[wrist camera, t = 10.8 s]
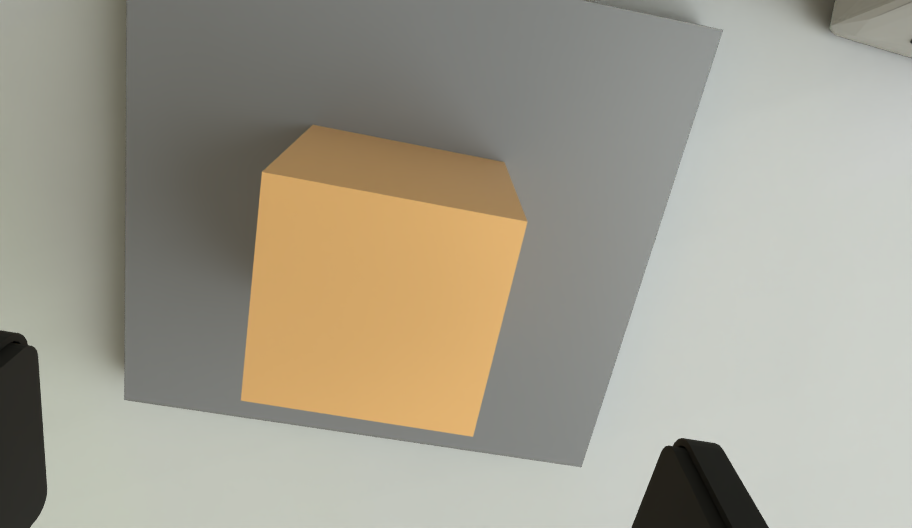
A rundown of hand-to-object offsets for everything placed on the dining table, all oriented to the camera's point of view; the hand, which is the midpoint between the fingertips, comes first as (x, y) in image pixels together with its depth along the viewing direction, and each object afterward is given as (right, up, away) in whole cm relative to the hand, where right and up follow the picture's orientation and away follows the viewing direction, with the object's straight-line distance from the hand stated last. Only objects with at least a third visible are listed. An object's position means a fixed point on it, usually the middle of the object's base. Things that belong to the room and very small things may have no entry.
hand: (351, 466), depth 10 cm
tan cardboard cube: (0, +4, +11) cm, 12 cm away
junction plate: (0, +5, +13) cm, 14 cm away
